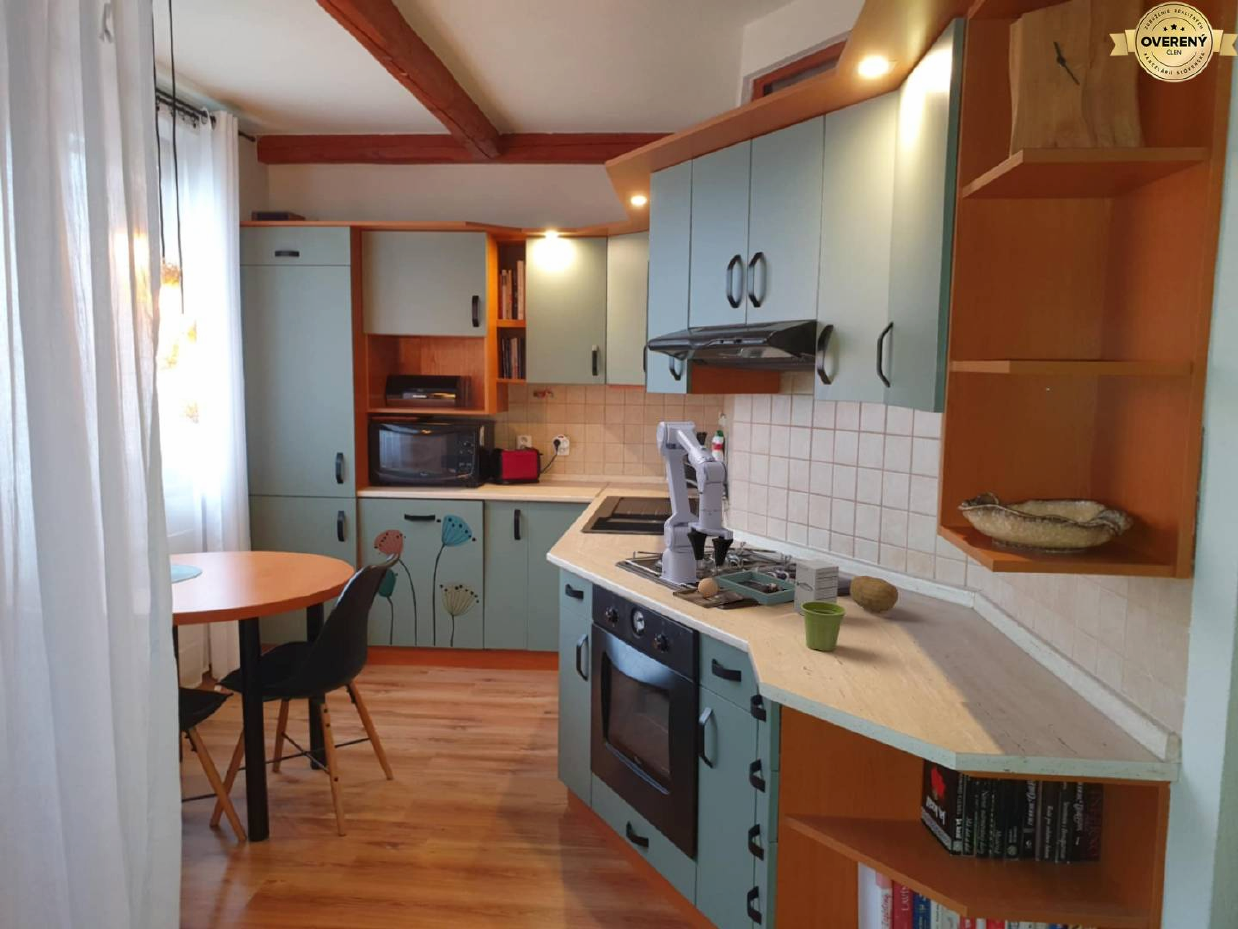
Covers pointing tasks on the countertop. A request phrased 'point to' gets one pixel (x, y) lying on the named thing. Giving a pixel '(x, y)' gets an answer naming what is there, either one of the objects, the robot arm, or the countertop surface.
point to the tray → (766, 599)
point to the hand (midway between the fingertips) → (709, 562)
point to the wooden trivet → (697, 598)
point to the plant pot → (822, 624)
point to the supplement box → (815, 582)
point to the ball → (707, 587)
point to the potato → (873, 593)
